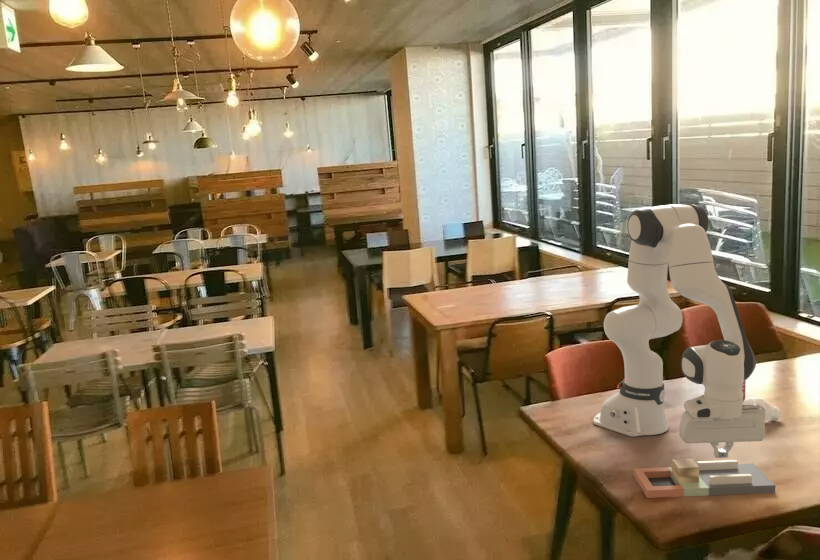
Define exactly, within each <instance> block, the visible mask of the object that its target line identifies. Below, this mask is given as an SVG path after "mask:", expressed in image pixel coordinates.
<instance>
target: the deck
mask: <svg viewBox="0 0 820 560" xmlns="http://www.w3.org/2000/svg"><path fill="white" fill-rule="evenodd" d="M668 467H669V466H665V467H643V468H641V467H639V468H633V469H632V470H633V474H632V475H633V477H634V480H636V482H637V484H638V486H639V487H640V489H641V491H642V492H643V493H644V496H645V497H646V498H647V499H653V498H654V499H655V498H657V499H658V498H676V497H677V498H681V497H685V496H684V488H683V487H682V485H676V484H675V483H674V481H673V480H672V478H671V477H670V469H669V468H668ZM734 474H751V475H752V483H744V484H720V485H710V484H709V476H710V475H734ZM699 477H700V478H701V479H702V480H703V481H704V483H705V484H706V485H707V486H708V487H709V495H708V496H729V495H731V496H732V495H752V494H776V484H774V482H773V481H772V480H770V479H769V478H768V476H766V475H765V473H763V472H762V470H760V469H759V468H758V466H757V465H755V463H738V469H718V470H699Z"/></svg>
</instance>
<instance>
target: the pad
mask: <svg viewBox="0 0 820 560" xmlns="http://www.w3.org/2000/svg"><path fill="white" fill-rule="evenodd" d="M667 467H668V468H669V469H670V477H671V478H672V480H673V481H674V483H675V484H676V485H682V487H683V488H684V497H700V496H701V497H704V496H705V497H707V496H710V495H709V487H708V486H707V485H706V484H705V483H704V481H703V480H702V479H701V478H700V477H699V482H688V483H678V481H677V480H676V479H675V477H674V476H673V475H672V466H667Z"/></svg>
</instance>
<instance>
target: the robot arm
mask: <svg viewBox="0 0 820 560" xmlns="http://www.w3.org/2000/svg"><path fill="white" fill-rule="evenodd" d="M709 223H710V221H709V216H708V213H707V211H706V210H705V208H703V207H702V206H701V205H698V204H693V203H686V204H680V203H678V204H677V203H676V204H675V203H672V204H671V203H668V204H667V203H666V204H665V205H663V204H662V205H655V206H652V207H647V206H644V207H640V208H638V209H635V210H633V211H632V212H631V214H630V215H629V217H628V219H627V226H626V227H627V228H626V229H627V233H628V236H629V238H630V239H631V242H630V247H629V251H628V252H629V253H628V255H629V256H628V265H627V266H628V267H627V278H626V279H627V280H626V282H627V285H628V286H629V288H630V289H631V290H632V291H634V292H635V293H637V294H638V297H639V300H638V301H639V302H638V304H632V305H626V306H622V307H619V308H616V309H613V310H611V311H610V312H608V313H607V314H606V315H605V318H604V320H603V329H604V333H605V335H606V337H607V338H608V339H609V340H610V341H611V342H613V343H614V344H615V345H616V346H617V348H619V350H620V352H621V354H622V358H623V364H624V365H623V366H624V367H623V368H624V378H623V380H622V381H620V382H619V383H618V384H617V385H616V386H617V387H616V389H617V390H619V391H618V392H616V393H614V394H613V395H612V396H610V397H608V398H607V399H606V400H605V401H604V402H603V403H602V405H601V409H600V412H598V413H597V414H596V415H594V416H593V419H592V422H593V424H594V425H595V426H599V427H601V428H604V429H607V430H610V431H614V432H617V433H619V434H622V435H626V436H628V437H641V436H654V435H659V434H660V435H661V434H664V433H666V432H667V431H668V430H669V424H668V421H667V417H666V413H665V403H664V402H665V397H666V396H665V395H666V394H665V393H666V392H665V383H664V378H663V377H664V376H663V375H664V374H663V373H664V372H663V371H664V368H663V367H664V366H663V365H664V362H663V359H662V357H661V356H660V355H659V354H658V353H657V352H654V351H653V350H651V348H650V343H649V341H650V340H652V339H657V338H663V337H667V336H669V335H671V334H673V333H675V332H677V331H679V330H680V329H681V327H682V325H683V319H684V318H683V313H682V310H681V308H680V307H679V306H678V305H677V304H676V303H675V302H674V301H673V300H672V299H671V297H670V294H669V291H668V273H669V280H670V283H671V287H673V289H674V290H675V291H676V292H677V293H678V294H679V295H680V296H682V297H684V298H686V299H689V300H691V301H694V302H698V303H702V304H704V305H706V306H707V307H708V306H709V308H711V309H712V310H713V311H714V313H715V315H716V317H717V321H718V323H719V327H720V330H721V333H722V336H723V339H716V340H713V341H710V342H709V343H708V344H704V345H697V346H695V345H694V346H691V347H687V348H686V349H685V350H684V352H683V353H682V355H681V358H680V369H681V373H682V375H683V376H684V377H685V378H686V379H687V380H688V381H690V382H691V383H693V384H696V385H702V386H703V387H704V392H703V393H704V394H702V395H700V396H698V397H694V398H691V399H688V400H686V401H684V403H683V408H684V409H685V410H684V412H683V413H682V414H681V416H680V421H679V429H678V431H679V433H678V435H679V437H680V439H681V440H682V441H683V442H684V443H685V444H706V443H707V444H710V445H711V447H712V449H713V456H714V457H715V458H716V459H724V458H725V459H726V458H727V459H728V458H729V452H730V451H731V450H732V448H733V447H734V443H740V442H741V443H745V442H746V443H749V442H750V443H751V442H763V441H764V439H765V438H766V426H765V422H764V419H765V409H764V408H763V407H762V406H760V405H757V404H755V405H743V393H742V384H743V381H744V380H748V379H749V378H750V376H751V375H752V374H753V373H754V371H755V369H756V365H757V359H756V355H755V354H754V351H753V349H752V347H751V345H750V342H749V341H748V339H747V336H746V335H747V334H746V332H745V329H744V326H743V322H742V319H741V316H740V312H739V309H738V307H737V304H736V300H735V298H734V295H733V292H732V290H731V288H730V286H729V285H728V284H727V283H725V282H723V281H722V280H721V279H720V276H719V275H718V273H717V270H716V268H715V264H714V258H713V252H712V247H711V245H710V241H709V240H710V239H709V238H708V235H707V231H708V230H709V225H710V224H709ZM720 443H725V444H724V447H723V448H718V446H719V444H720Z"/></svg>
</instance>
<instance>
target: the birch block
mask: <svg viewBox="0 0 820 560" xmlns="http://www.w3.org/2000/svg"><path fill="white" fill-rule="evenodd" d="M671 467H672V475H673V476H674V477H675V479H676V480H677V481H678V483H688V482H699V466H698V465H697V462H695V460H694V459H693V458H675V459H674V458H673V459H671Z"/></svg>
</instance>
